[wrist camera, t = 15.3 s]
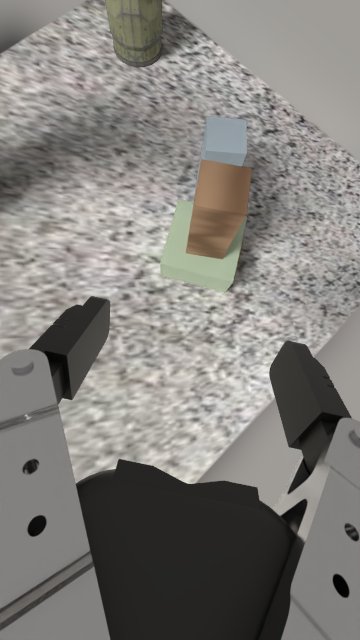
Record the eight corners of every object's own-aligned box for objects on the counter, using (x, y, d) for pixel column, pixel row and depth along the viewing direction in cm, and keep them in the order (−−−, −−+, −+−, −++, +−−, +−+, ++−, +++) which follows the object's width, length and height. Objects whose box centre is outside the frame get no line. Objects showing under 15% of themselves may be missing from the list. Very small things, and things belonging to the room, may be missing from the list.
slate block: (195, 204, 38) (206, 150, 28) (196, 177, 39) (207, 115, 29) (226, 207, 38) (246, 154, 29) (226, 180, 39) (246, 119, 30)
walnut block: (185, 253, 32) (193, 205, 22) (190, 219, 33) (201, 159, 23) (221, 259, 32) (246, 214, 22) (226, 225, 33) (251, 168, 23)
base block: (161, 276, 36) (160, 263, 31) (177, 219, 38) (178, 198, 33) (225, 293, 36) (235, 283, 31) (238, 236, 38) (249, 217, 33)
